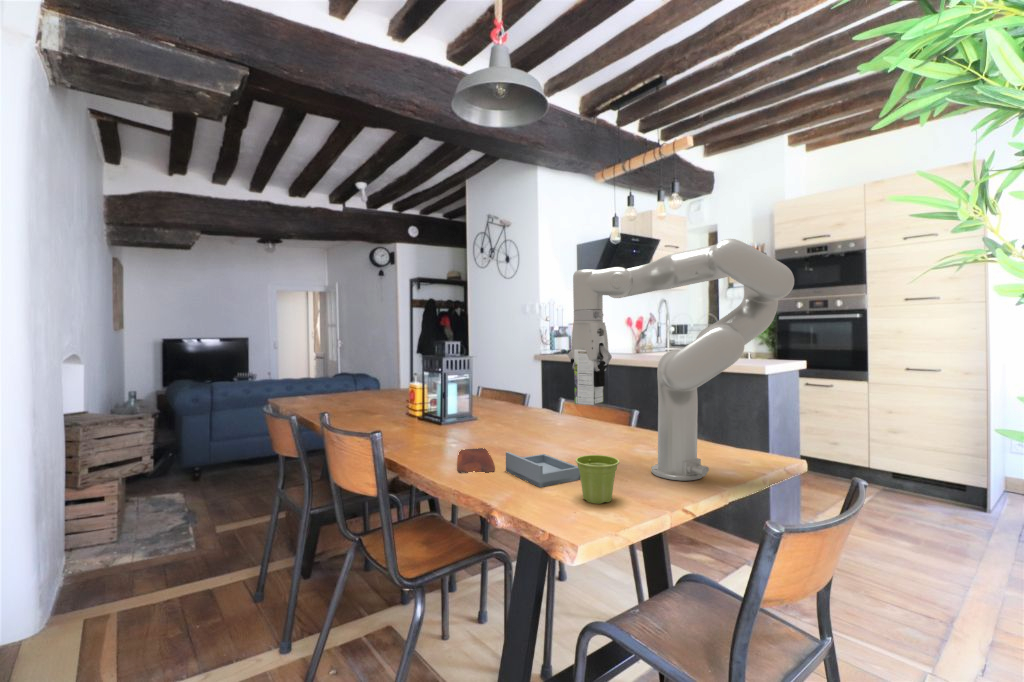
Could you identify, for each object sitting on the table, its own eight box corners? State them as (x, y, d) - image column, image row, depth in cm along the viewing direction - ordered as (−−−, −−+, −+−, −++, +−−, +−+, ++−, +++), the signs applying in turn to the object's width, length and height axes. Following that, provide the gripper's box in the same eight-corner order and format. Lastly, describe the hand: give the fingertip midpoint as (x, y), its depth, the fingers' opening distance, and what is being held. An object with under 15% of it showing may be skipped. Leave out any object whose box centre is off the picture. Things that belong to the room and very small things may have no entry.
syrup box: (584, 401, 137) (583, 347, 137) (604, 402, 134) (603, 347, 133) (574, 404, 133) (573, 348, 132) (594, 405, 129) (593, 348, 129)
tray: (580, 479, 125) (580, 459, 125) (539, 487, 119) (539, 466, 119) (544, 464, 139) (544, 446, 138) (505, 471, 132) (505, 452, 132)
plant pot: (570, 503, 108) (570, 463, 108) (580, 490, 117) (580, 453, 117) (615, 509, 105) (615, 467, 105) (621, 495, 114) (622, 456, 113)
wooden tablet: (496, 475, 131) (496, 468, 131) (457, 476, 130) (457, 469, 130) (489, 450, 158) (489, 444, 158) (457, 450, 157) (457, 445, 157)
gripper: (622, 316, 127) (623, 387, 128) (578, 318, 142) (579, 381, 142) (599, 316, 123) (600, 389, 124) (556, 318, 138) (557, 383, 139)
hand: (589, 384), depth 133 cm, fingers closed on syrup box, 7 cm apart
